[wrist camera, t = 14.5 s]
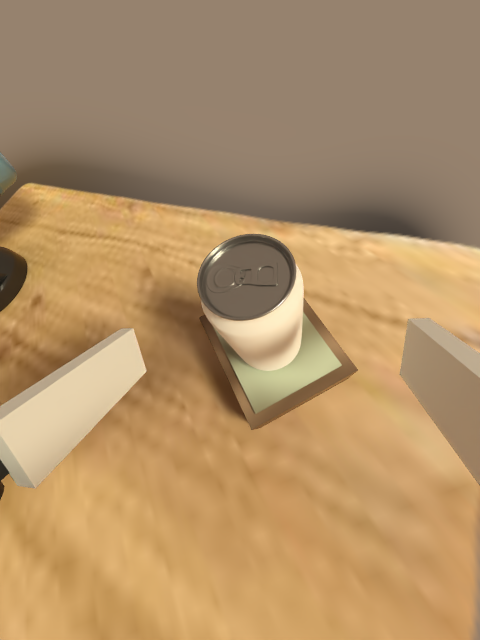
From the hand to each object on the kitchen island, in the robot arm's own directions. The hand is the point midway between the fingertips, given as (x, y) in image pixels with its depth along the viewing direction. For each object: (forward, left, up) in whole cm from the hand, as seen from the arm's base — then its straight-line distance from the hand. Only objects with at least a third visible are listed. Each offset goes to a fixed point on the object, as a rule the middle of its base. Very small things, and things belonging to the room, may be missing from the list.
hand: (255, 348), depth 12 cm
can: (-4, +1, -12) cm, 13 cm away
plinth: (-4, +2, -17) cm, 18 cm away
